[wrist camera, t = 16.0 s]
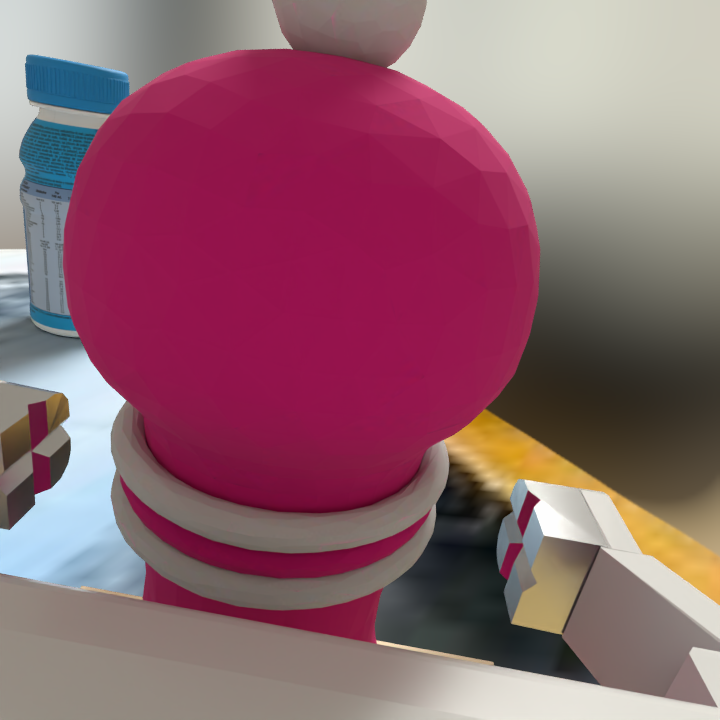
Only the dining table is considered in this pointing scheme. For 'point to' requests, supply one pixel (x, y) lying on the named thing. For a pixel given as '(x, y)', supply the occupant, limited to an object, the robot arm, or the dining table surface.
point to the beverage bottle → (58, 169)
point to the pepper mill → (295, 312)
